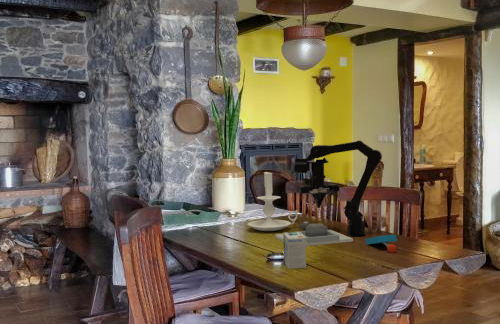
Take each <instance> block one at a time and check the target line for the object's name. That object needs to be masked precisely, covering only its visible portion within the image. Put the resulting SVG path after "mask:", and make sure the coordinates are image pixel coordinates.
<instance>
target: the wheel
mask: <svg viewBox="0 0 500 324" xmlns="http://www.w3.org/2000/svg"><path fill="white" fill-rule="evenodd" d="M298 224H299V229H300V230H303V229H305V226H309V224H313V223H312V222H309V221H303V222H300V223H298Z"/></svg>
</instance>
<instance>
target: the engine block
mask: <svg viewBox="0 0 500 324" xmlns="http://www.w3.org/2000/svg"><path fill="white" fill-rule="evenodd" d="M328 230H329V229H328V226H326V225H324V224H323V223H322V222H321V223H320V222H319V223H312V224H309V226H305V236H307V237H319V236H328Z"/></svg>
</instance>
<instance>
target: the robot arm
mask: <svg viewBox="0 0 500 324" xmlns="http://www.w3.org/2000/svg"><path fill="white" fill-rule="evenodd" d="M356 150H357V151H359V152H360V153H361V154H362V155H364V156H365V157H367V159H366V163H365V169H364V170H363V173H362V175H361V178H360V180H359V183H358V184H357V185H358V186H357V187H356V190H355V192H354V195H353V197H352V198H351V199H350V198H348V199H347V200H346V203H345V206H344V207H343V210H344V211H343V212H344V216H345V218H347V219H348V223H347V233H346V235H348V236H349V237H352V238H353V237H364V236H365V237H366V236H367V234H366V233H365V220H363V218H364V214H363V213H362V212H361V211H360V207H361V201H362V198H363V197H364V194H365V192H366V189H367V187H368V184H369V182H370V180H371V178H372V175H373V173H374V171H375V170H376V168H377V167H378V165H379V164H380V162H381V161H382V158H383V154H382V152H381V151H380V150H378V149H373V148H372V147H370V146H369V145H367V144H366V143H365V142H363V141H362V140H355V141H351V142H344V143H337V144H329V145H327V144H317V145H313V146H311V148H310V150H309V151H310V152H309V155H308V156H307V158H300V157H298V158H297V157H296V158H295V161H294V166H293V168H294V174H308V173H309V172H310V173H311V174H310V176H309V178H308V177H304V178H303V179H302V184H303V185H297V186H296V193H298V194H309V195H311V197H313V199H314V202H315V205H316V207H317V209H320V208H321V206H322V203H323V201H324V200H325V199H324V198H325V197H326V195H328V194H329V192H328V191H333V192H340V191H341V189H340V185H339V184H336V183H330V184H329V183H328V184H325V178H326V175H325V164H328V163H329V160H328V159H327V158H326V156H329V155H333V154H337V153H344V152H350V151H356ZM320 158H323V159H320ZM315 159H316V160H315ZM313 160H315V161H313Z"/></svg>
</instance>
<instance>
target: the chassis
mask: <svg viewBox="0 0 500 324" xmlns="http://www.w3.org/2000/svg"><path fill="white" fill-rule="evenodd" d="M299 232H301V233H302V234H303V235H304V236H305V229H302V231H299ZM305 237H306V247H308V246H319V245H330V244H332V245H333V244H339V243H350V242H351V243H352V242H354V238H353V237H351V236H349V235H348V236H347V235H344V234H342V233H340V232H337V231H335V230H332V229H328V236H319V237H307V236H305ZM274 238H276V239H277V240H278V241H281V242H283V233H277V234H274Z"/></svg>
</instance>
